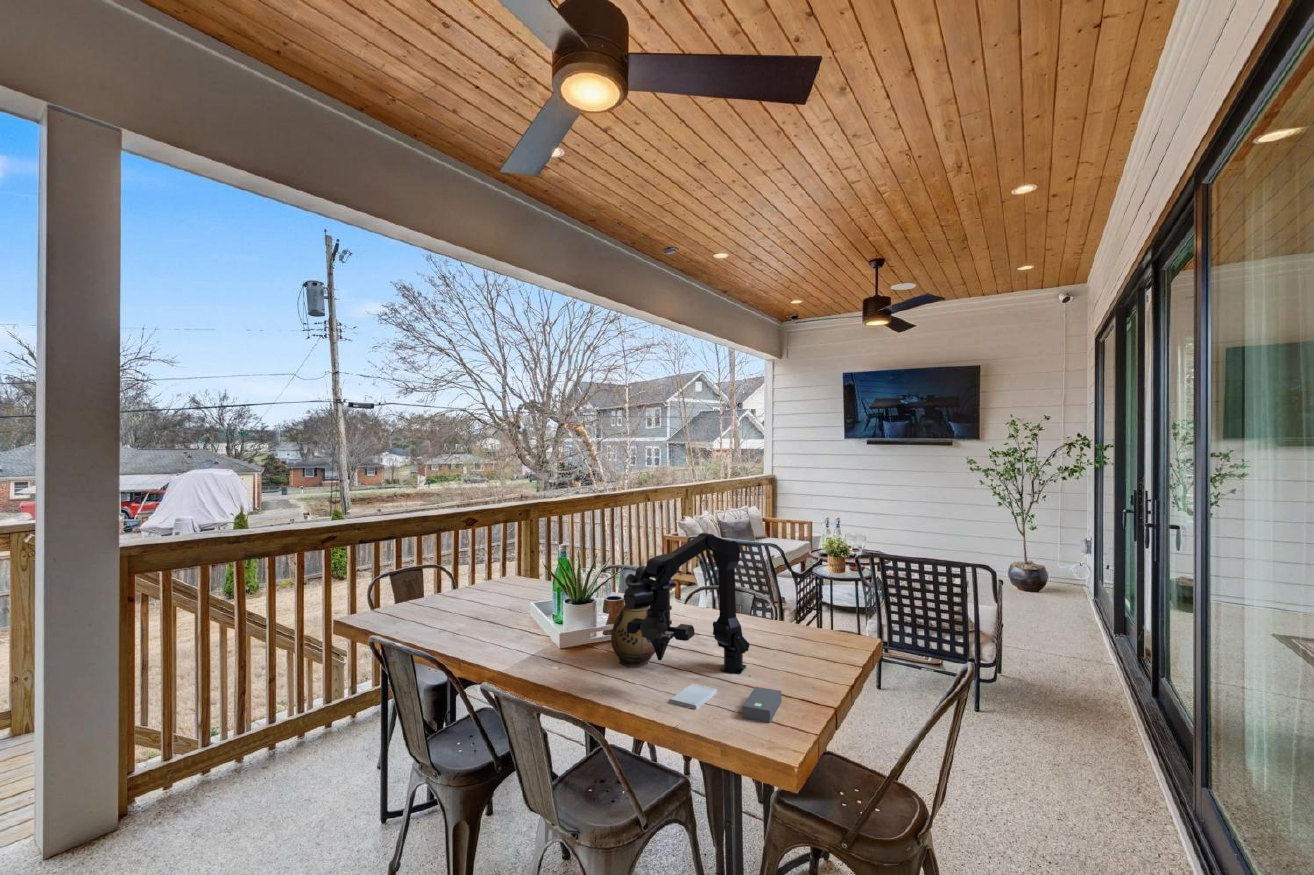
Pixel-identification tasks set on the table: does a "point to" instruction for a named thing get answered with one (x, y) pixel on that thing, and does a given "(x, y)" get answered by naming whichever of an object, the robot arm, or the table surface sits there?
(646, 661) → the ceramic jug
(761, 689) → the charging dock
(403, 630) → the table surface
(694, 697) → the hard drive
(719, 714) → the table surface
